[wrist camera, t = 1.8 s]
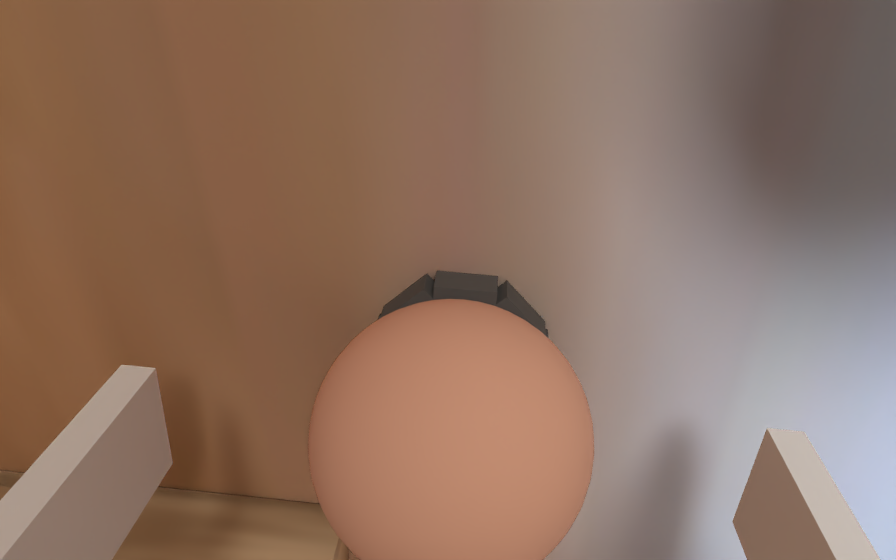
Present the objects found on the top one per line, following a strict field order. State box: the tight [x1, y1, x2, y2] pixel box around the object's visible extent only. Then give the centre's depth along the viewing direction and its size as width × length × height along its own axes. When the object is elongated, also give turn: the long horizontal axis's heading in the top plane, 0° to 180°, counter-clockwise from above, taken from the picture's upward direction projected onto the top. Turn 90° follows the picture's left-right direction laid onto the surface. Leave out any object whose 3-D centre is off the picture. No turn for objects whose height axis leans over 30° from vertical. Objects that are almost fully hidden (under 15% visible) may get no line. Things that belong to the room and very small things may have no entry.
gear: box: [378, 271, 548, 338], centre depth 17 cm, size 4×4×1 cm
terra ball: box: [308, 299, 594, 560], centre depth 14 cm, size 6×6×6 cm
